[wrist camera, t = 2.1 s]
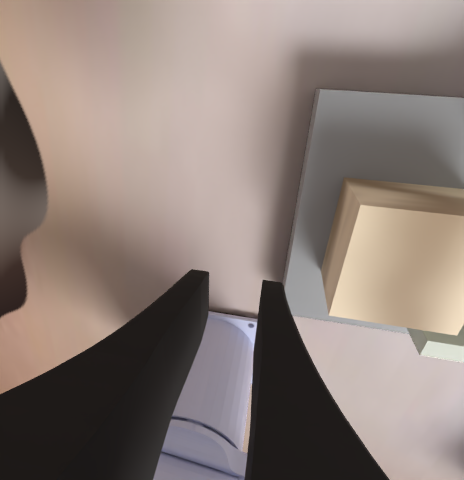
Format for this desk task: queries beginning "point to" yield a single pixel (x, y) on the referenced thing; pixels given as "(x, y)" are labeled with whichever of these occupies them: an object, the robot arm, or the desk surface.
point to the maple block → (397, 255)
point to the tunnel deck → (370, 168)
